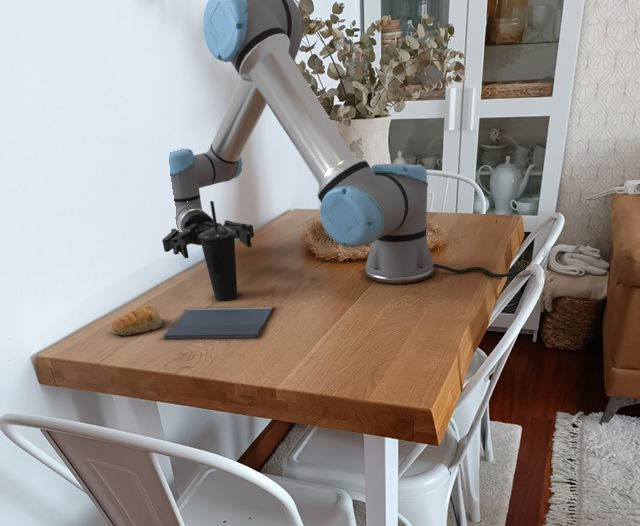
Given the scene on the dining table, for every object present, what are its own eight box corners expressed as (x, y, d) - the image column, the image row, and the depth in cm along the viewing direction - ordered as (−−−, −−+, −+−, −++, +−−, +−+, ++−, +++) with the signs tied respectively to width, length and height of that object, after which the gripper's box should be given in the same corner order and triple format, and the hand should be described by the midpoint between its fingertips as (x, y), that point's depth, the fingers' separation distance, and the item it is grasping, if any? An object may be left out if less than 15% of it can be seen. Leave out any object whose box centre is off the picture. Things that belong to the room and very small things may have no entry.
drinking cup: (250, 296, 134) (237, 200, 123) (218, 305, 130) (202, 207, 120) (234, 288, 139) (220, 195, 129) (203, 297, 136) (186, 202, 125)
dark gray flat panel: (273, 308, 126) (273, 305, 126) (257, 338, 114) (256, 334, 113) (189, 310, 129) (188, 306, 129) (164, 339, 117) (163, 335, 116)
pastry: (121, 340, 117) (116, 322, 115) (107, 331, 122) (102, 313, 120) (165, 326, 122) (161, 308, 120) (151, 318, 127) (146, 300, 125)
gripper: (248, 233, 152) (276, 253, 135) (147, 250, 145) (162, 274, 128) (244, 201, 148) (272, 218, 131) (139, 217, 141) (154, 237, 124)
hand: (217, 246), depth 129 cm, fingers open, 13 cm apart
